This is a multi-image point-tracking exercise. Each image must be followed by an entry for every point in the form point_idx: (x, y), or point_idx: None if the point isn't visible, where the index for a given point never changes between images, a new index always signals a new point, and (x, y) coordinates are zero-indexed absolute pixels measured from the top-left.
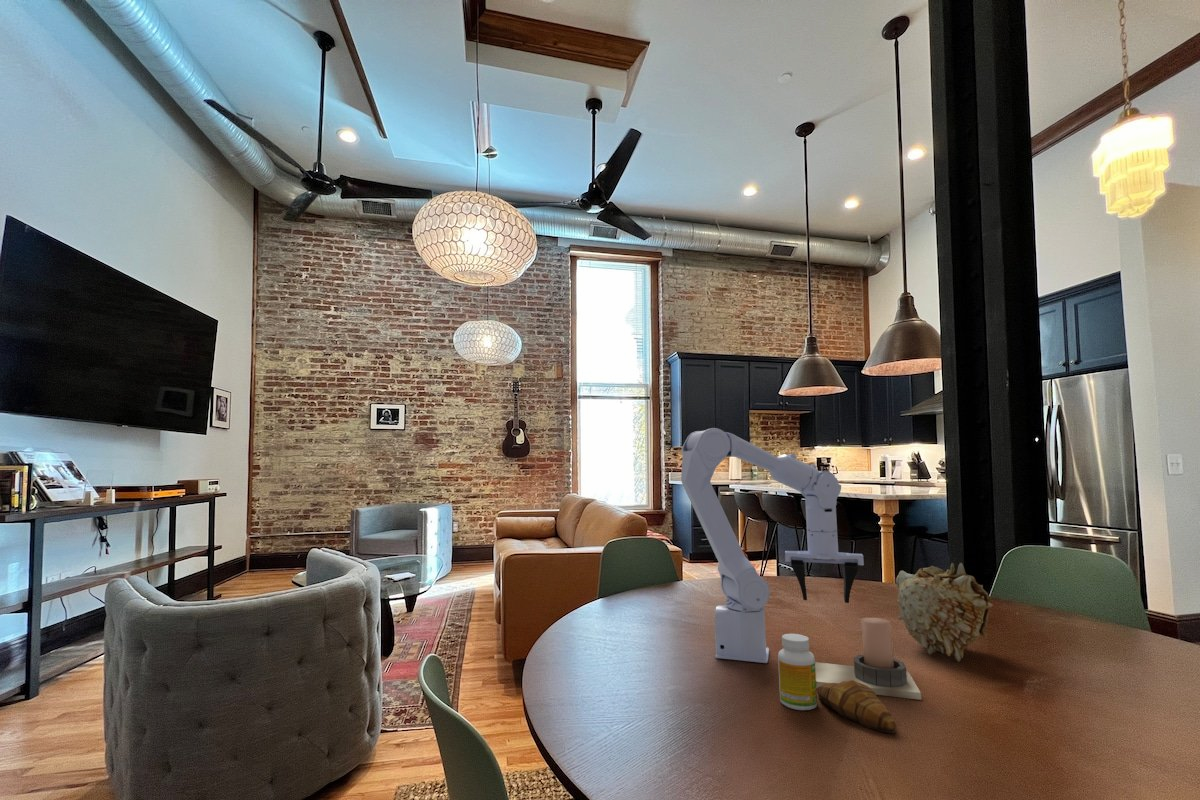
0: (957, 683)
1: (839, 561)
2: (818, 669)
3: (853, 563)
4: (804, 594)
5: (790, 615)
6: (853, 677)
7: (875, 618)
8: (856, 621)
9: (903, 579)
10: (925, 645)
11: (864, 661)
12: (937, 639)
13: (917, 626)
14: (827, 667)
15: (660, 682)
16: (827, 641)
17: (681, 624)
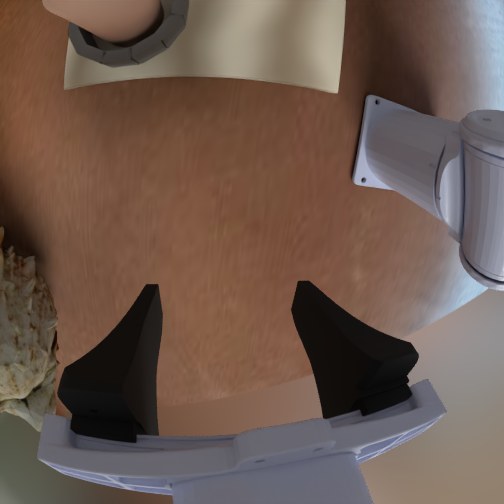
0: (5, 105)
1: (165, 447)
2: (269, 34)
3: (88, 429)
4: (314, 289)
5: (263, 383)
6: (194, 3)
7: (73, 3)
8: (160, 384)
9: (34, 408)
10: (30, 260)
11: (159, 4)
12: (4, 257)
13: (23, 284)
14: (245, 49)
15: (479, 39)
16: (212, 279)
17: (435, 287)
